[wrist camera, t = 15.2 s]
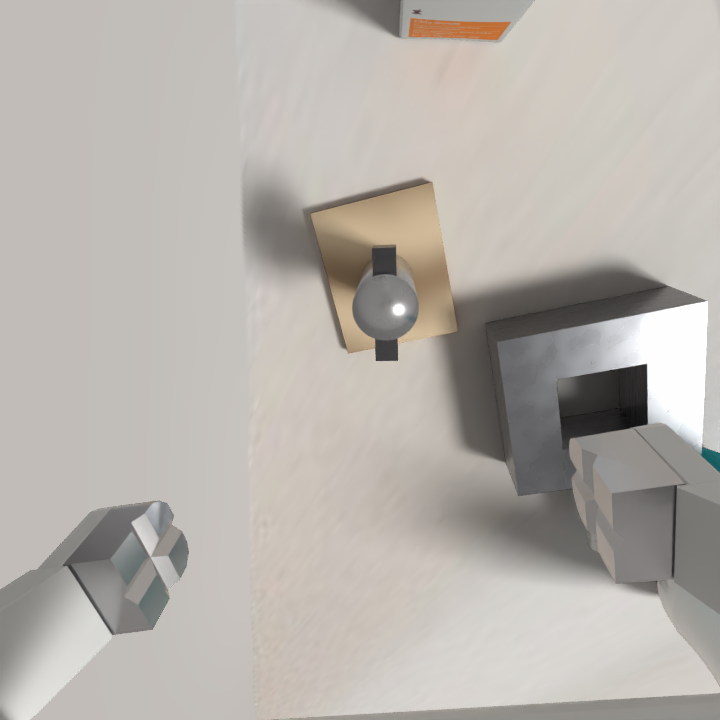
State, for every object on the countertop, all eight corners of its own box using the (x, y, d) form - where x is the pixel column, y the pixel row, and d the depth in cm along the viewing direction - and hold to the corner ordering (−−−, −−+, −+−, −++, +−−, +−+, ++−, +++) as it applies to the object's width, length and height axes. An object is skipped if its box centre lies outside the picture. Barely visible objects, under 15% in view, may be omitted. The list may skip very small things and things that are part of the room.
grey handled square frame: (485, 323, 31) (496, 342, 27) (668, 286, 29) (707, 301, 25) (515, 530, 38) (528, 568, 34) (666, 511, 36) (697, 549, 32)
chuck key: (360, 233, 29) (348, 250, 21) (412, 231, 29) (419, 247, 21) (364, 321, 31) (355, 363, 24) (412, 320, 31) (418, 363, 23)
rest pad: (312, 213, 29) (310, 213, 29) (431, 182, 28) (432, 182, 27) (348, 350, 33) (348, 353, 32) (456, 328, 31) (457, 331, 31)
